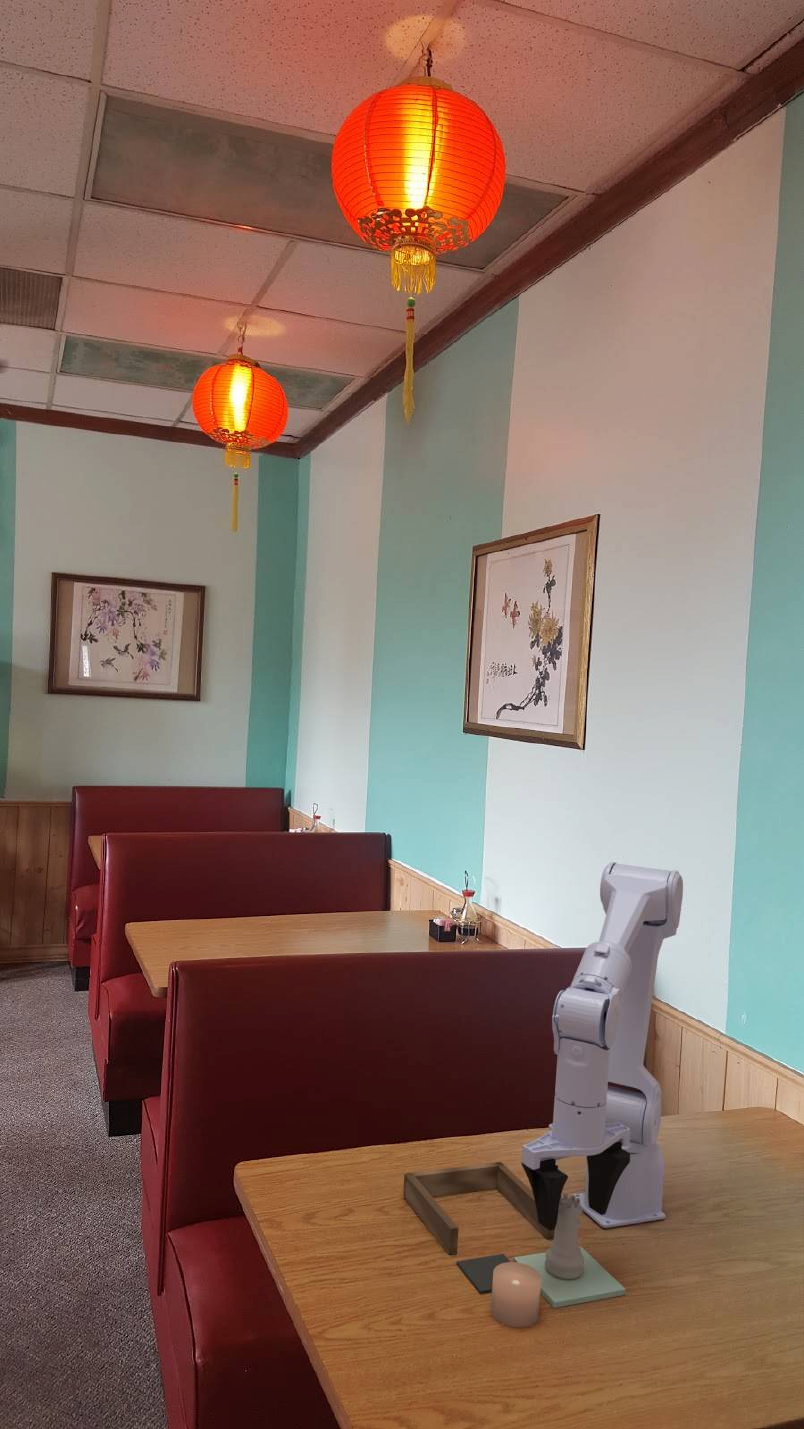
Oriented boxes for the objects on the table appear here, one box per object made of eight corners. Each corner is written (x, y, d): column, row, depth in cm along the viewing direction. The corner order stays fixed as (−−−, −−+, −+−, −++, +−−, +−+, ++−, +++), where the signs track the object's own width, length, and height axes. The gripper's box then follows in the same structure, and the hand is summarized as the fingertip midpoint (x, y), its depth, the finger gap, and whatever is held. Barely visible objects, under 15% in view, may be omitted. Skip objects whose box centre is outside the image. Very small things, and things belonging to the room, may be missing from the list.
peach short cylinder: (523, 1295, 108) (526, 1259, 108) (547, 1323, 104) (550, 1284, 104) (482, 1303, 106) (485, 1265, 106) (504, 1331, 102) (507, 1292, 102)
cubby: (499, 1184, 134) (501, 1161, 134) (554, 1237, 121) (555, 1213, 121) (402, 1196, 128) (404, 1173, 128) (449, 1254, 115) (450, 1228, 115)
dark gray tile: (503, 1256, 116) (503, 1253, 116) (529, 1285, 110) (529, 1282, 110) (456, 1263, 114) (456, 1261, 114) (480, 1293, 108) (480, 1291, 108)
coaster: (580, 1251, 118) (580, 1246, 118) (625, 1294, 110) (625, 1289, 110) (513, 1262, 115) (513, 1257, 115) (554, 1308, 106) (554, 1302, 106)
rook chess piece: (587, 1282, 110) (592, 1210, 110) (546, 1279, 110) (551, 1207, 110) (580, 1260, 115) (585, 1191, 115) (541, 1257, 115) (546, 1188, 115)
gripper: (602, 1075, 119) (594, 1188, 120) (507, 1094, 112) (499, 1215, 112) (646, 1097, 113) (638, 1216, 114) (549, 1118, 106) (541, 1246, 106)
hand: (572, 1218), depth 112 cm, fingers open, 7 cm apart
